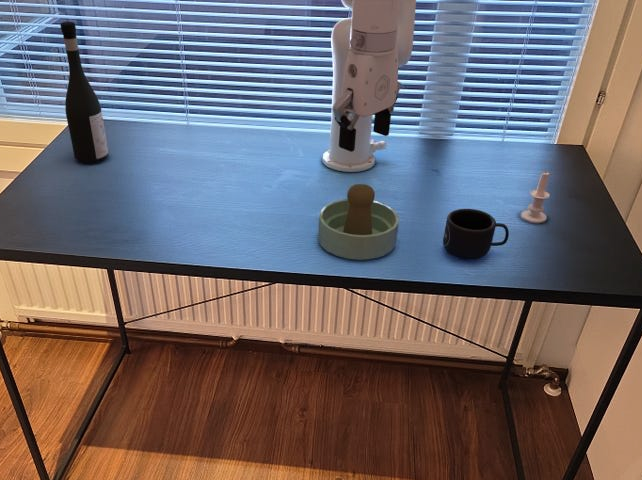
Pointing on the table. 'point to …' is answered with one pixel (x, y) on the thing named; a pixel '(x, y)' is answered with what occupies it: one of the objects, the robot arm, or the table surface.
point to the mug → (470, 234)
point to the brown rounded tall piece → (359, 210)
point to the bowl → (357, 245)
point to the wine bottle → (82, 107)
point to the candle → (537, 202)
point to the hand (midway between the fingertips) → (364, 141)
